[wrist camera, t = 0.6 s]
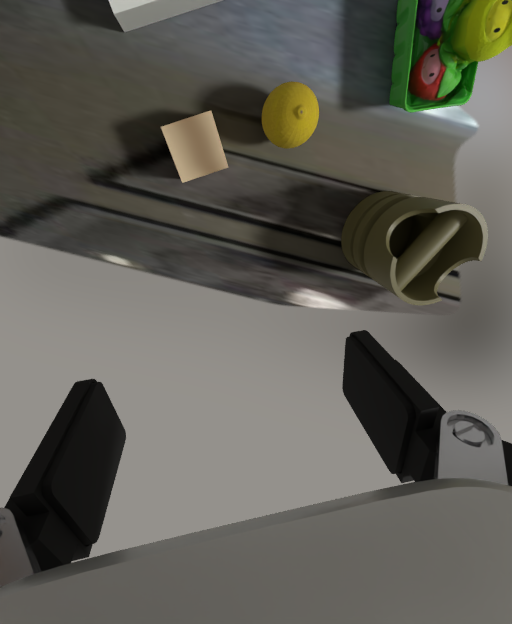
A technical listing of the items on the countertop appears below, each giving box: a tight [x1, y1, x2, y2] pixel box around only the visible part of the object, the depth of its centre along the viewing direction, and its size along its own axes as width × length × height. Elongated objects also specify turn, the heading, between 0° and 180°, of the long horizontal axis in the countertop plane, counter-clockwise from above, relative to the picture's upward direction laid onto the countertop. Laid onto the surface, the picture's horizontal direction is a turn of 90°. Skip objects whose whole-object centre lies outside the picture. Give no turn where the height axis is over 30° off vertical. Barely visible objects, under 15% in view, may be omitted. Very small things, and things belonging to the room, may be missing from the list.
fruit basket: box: [389, 0, 512, 112], centre depth 27 cm, size 11×9×11 cm
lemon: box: [262, 82, 319, 148], centre depth 29 cm, size 6×6×8 cm
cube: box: [161, 110, 228, 183], centre depth 30 cm, size 5×5×5 cm
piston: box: [341, 191, 488, 305], centre depth 36 cm, size 11×12×11 cm
